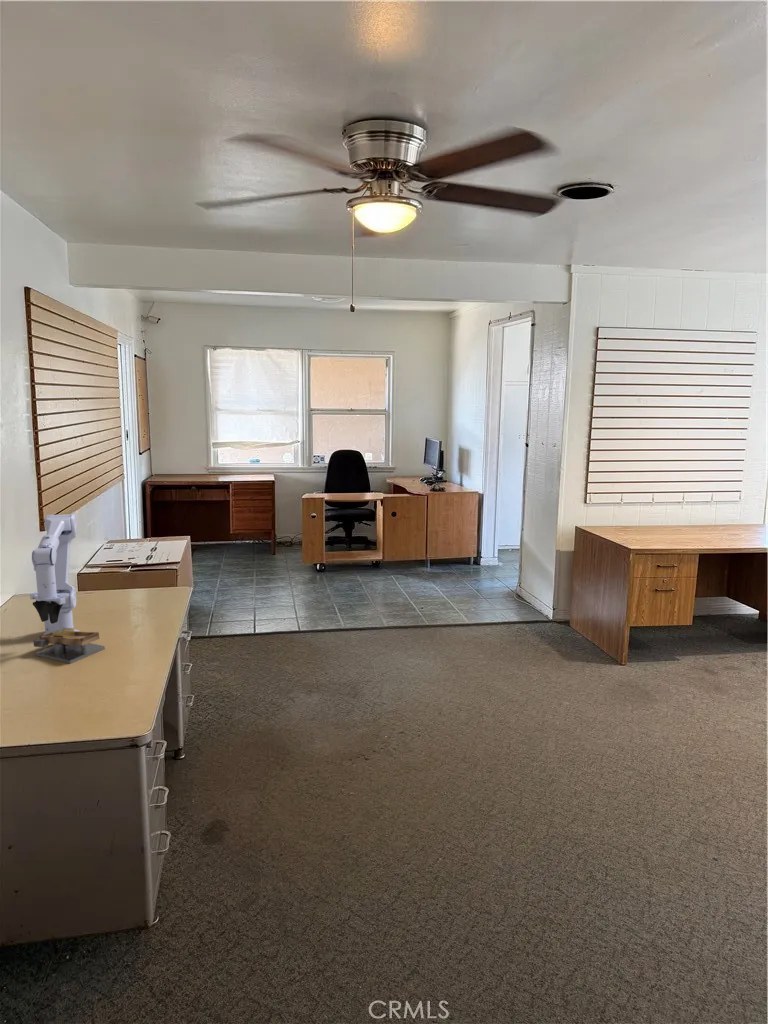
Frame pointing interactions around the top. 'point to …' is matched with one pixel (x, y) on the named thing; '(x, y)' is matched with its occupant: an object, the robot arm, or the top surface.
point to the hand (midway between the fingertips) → (49, 621)
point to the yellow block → (64, 632)
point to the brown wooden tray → (67, 639)
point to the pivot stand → (69, 652)
